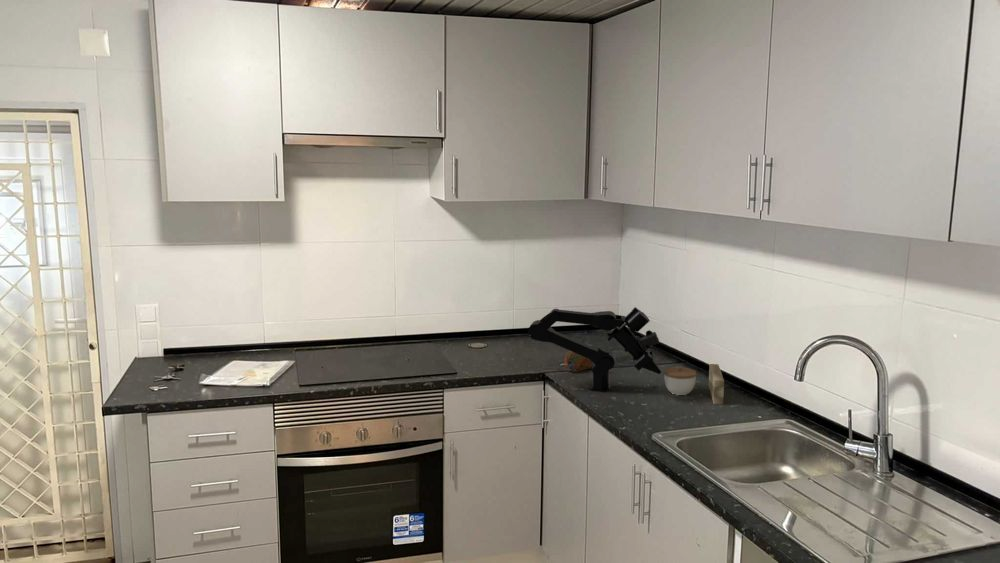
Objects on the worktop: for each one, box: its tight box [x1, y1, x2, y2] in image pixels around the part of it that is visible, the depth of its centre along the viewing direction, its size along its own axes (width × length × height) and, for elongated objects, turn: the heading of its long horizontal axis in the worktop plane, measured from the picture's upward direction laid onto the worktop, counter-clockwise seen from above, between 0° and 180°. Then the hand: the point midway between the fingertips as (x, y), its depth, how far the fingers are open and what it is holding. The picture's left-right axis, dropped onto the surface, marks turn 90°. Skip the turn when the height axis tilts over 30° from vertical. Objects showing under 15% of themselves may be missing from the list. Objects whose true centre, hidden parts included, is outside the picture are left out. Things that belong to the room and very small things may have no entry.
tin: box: [563, 350, 593, 373], centre depth 284 cm, size 15×3×8 cm, turn 129°
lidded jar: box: [663, 365, 697, 396], centre depth 255 cm, size 11×11×9 cm
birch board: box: [708, 363, 725, 405], centre depth 253 cm, size 3×20×8 cm, turn 169°
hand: (660, 372), depth 256 cm, fingers closed
